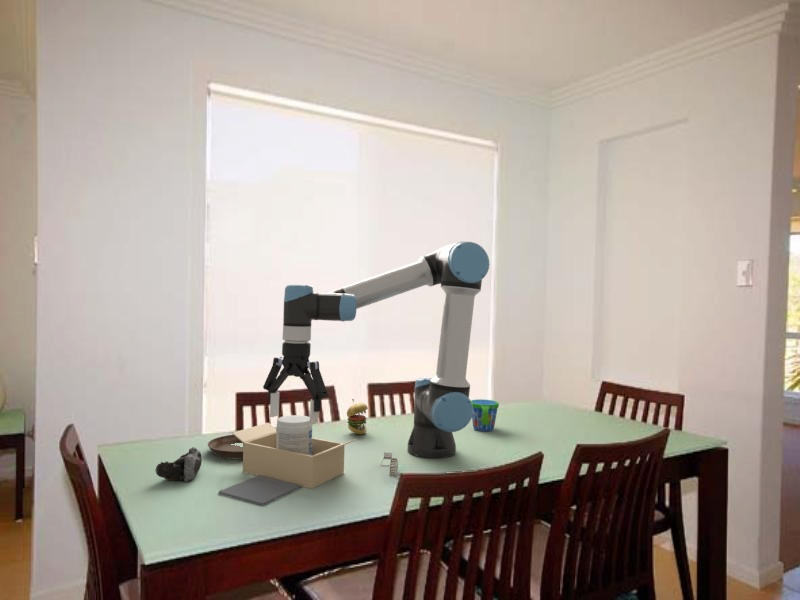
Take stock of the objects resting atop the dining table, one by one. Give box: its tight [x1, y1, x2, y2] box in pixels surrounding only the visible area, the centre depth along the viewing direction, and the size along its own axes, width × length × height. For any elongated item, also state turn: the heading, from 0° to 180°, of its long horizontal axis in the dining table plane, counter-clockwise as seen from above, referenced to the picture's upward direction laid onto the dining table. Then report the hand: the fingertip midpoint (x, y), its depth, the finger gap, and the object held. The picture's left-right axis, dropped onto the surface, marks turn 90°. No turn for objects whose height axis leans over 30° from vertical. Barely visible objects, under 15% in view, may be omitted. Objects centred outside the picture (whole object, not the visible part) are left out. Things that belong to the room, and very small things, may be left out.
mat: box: [218, 475, 302, 507], centre depth 138 cm, size 14×14×1 cm
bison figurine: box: [154, 446, 203, 483], centre depth 147 cm, size 12×7×10 cm
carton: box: [231, 422, 358, 489], centre depth 152 cm, size 32×14×10 cm, turn 62°
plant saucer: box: [207, 434, 243, 460], centre depth 171 cm, size 21×21×3 cm
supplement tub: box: [276, 414, 313, 456], centre depth 152 cm, size 10×10×15 cm
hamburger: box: [346, 398, 368, 435], centre depth 195 cm, size 8×7×12 cm
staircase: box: [380, 452, 399, 477], centre depth 153 cm, size 6×4×6 cm, turn 174°
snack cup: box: [470, 398, 500, 432], centre depth 206 cm, size 16×10×10 cm
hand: (293, 419), depth 152 cm, fingers open, 13 cm apart
